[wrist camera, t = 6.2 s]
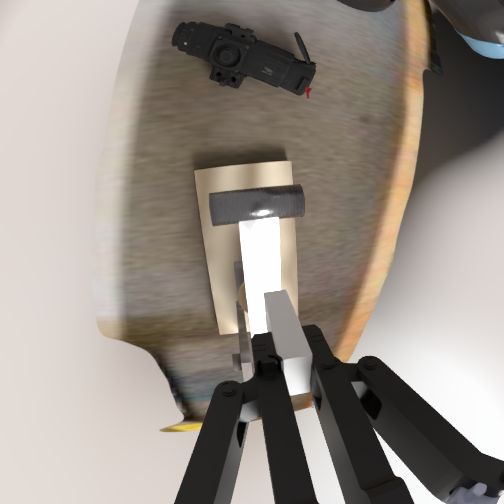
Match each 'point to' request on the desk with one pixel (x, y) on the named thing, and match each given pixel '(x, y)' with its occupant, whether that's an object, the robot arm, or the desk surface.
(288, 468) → the robot arm
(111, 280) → the desk surface
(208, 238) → the press base
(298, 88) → the night vision scope
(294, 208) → the lever
